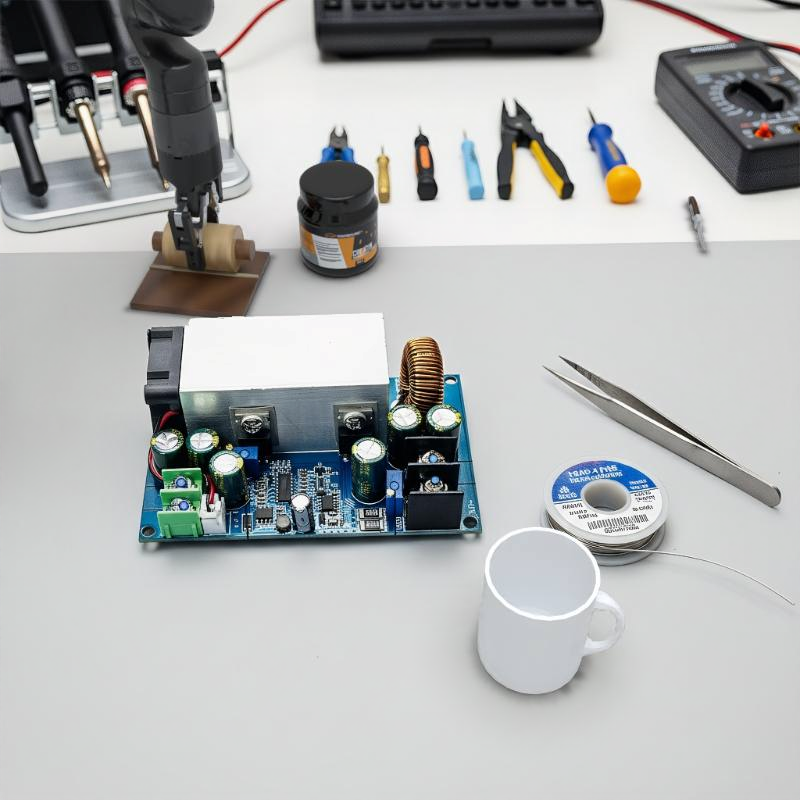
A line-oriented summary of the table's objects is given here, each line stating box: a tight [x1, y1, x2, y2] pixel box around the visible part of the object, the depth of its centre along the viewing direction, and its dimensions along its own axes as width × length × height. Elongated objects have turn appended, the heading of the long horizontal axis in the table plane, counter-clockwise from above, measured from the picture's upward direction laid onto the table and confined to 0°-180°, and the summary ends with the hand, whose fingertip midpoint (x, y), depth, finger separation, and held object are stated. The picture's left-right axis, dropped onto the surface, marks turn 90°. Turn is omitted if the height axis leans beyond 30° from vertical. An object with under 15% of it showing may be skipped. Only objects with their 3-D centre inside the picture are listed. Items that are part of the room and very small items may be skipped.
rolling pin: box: [151, 220, 256, 272], centre depth 128 cm, size 13×6×6 cm, turn 81°
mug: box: [476, 526, 626, 695], centre depth 85 cm, size 10×12×12 cm
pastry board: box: [129, 250, 271, 318], centre depth 129 cm, size 15×14×1 cm
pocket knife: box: [687, 195, 706, 251], centre depth 139 cm, size 14×1×2 cm, turn 176°
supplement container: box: [296, 160, 380, 278], centre depth 129 cm, size 10×10×12 cm
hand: (204, 253), depth 129 cm, fingers closed on rolling pin, 6 cm apart
